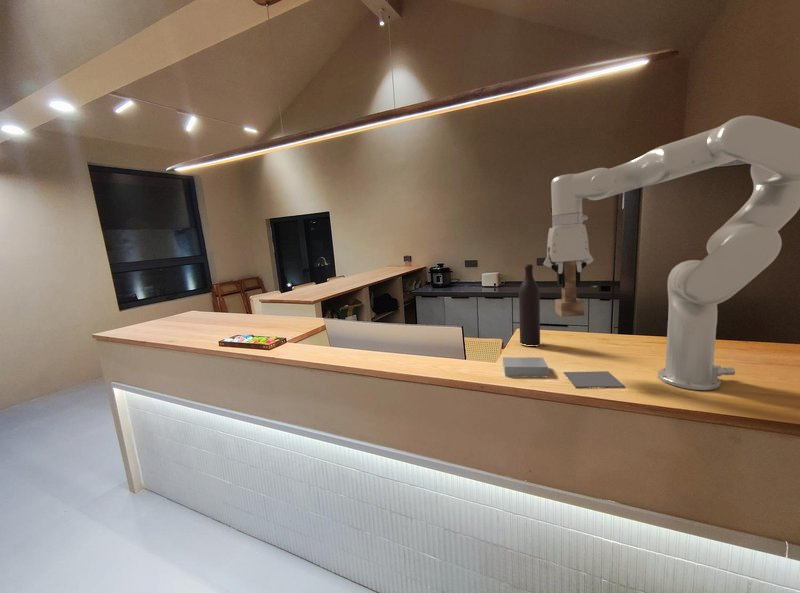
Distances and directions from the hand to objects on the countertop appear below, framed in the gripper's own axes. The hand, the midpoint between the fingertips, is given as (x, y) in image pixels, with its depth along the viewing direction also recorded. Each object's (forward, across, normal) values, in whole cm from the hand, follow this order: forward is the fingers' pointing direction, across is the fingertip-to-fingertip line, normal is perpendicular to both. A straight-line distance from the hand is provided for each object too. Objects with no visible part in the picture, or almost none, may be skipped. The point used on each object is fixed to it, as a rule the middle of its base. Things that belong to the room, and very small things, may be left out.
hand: (568, 285), depth 98 cm
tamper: (+8, 0, 0) cm, 8 cm away
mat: (+26, -4, +7) cm, 27 cm away
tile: (+24, +7, 0) cm, 25 cm away
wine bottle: (+26, +6, -26) cm, 37 cm away
